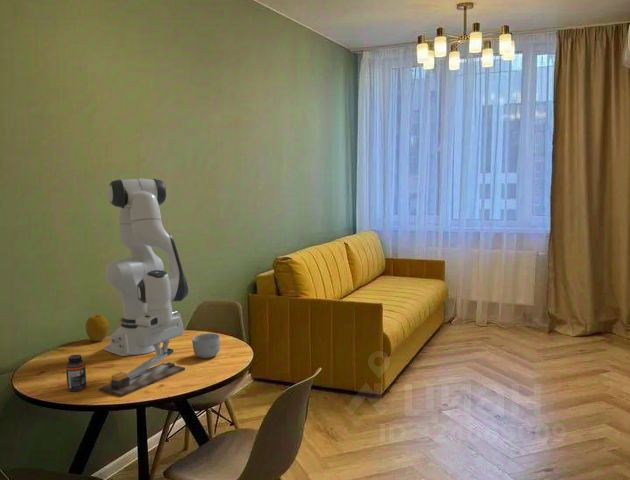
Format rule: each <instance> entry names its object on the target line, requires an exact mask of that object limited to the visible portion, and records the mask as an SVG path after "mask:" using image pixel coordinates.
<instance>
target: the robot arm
mask: <svg viewBox="0 0 630 480" xmlns="http://www.w3.org/2000/svg"><path fill="white" fill-rule="evenodd" d="M107 197H108V200H109V203H110V204H111V205H112V206H114V207H117V208H119V215H118V223H119V224H118V226H119V229H118V230H119V241H120V244H121V245H122V246H123V247H125V248H127V249H128V251H130V252H129V253H130V257H125V258H119V259H116V260H114V261H111V262H109V263H108V264H107V266H106V268H105V272H104V273H105V275H104V276H105V279H106V281H107V283H109V284H110V286H113V287H114V288H115V290H117V291H118V293H119V295H120V299H121V302H122V310H123V313H122V315H123V317H121V318H118V320H119V323H120V327H118V328H117V329H116V330H115V331H114V332H112V333H111V335H110V337H109V338H110V339H109V344H108V345H107V344H106V345H105V346H104V347H103V350H104V351H106V352H108V353H112V354H115V355H118V356H120V357H125V356H137V355H145V354H150V353H152V352H155V355H161V354H163V353H166V352H167V348H168V346H169V344H170V340H172V339H175V338H178V337H181V336H183V334H184V324H183V319H182V315H181V313H180V312H179V311H178V310H177V311H173V306H172V302H182V301H183V300H184V299H186V297H188V294H189V284H188V281H187V278H186V276H185V273H184V270H183V266H182V264H181V260H180V256H179V253H178V249H177V247H176V242H175V239H174V238H173V236H172V234H171V233H169V232H167V231H166V229H165V227H164V225H163V222H162V221H163V220H162V213H161V210H160V206H161V205H162V204H163V203H164V202H166V198H167V187H166V184H165V183H164V182H163V180H161V179H157V178H153V179H152V178H151V179H150V178H140V177H139V178H130V179H127V178H126V179H115V180H112V181H111V182H110V183H109V185H108V188H107ZM153 248H154V249H157V250H160V251H161V252H163V253H164V255H165V256H166V260H167V264H168V267H169V270H170V275H169V273H168V272H167V271H165V270H164V269H165V267H164V262H163V260H162V259H161V258H160V257H159V256H158V255H157V254H155V252H154V250H153ZM161 343H163V344H162V347H160V346H161Z"/></svg>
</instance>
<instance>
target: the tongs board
mask: <svg viewBox="0 0 630 480" xmlns="http://www.w3.org/2000/svg"><path fill="white" fill-rule="evenodd" d="M183 371H186V367H184V366H180V365H175V363H174V362H170V361H169V362H166V363H165V362H163V363H159V364H157V365H155V366H154V365H153V366H151V367H150V368H148V369H147V370H145V371H144V372H142V373H141V374H139V375H137V376H136V377H134V378H133V379H131V380H129V377H127V378H124V379H122V380H119V381H115V380H112V379H110V383H108V384H105V385H103V386H101V387H98V392H102V393H105V394H110V395H114V396H117V397H121V398H123V397H125V396H127V395H130V394H132V393H134V392H136V391H140V390H141V389H143V388H146V387H149V386H150V385H153V384H154V383H157V382H160V381H163V380H165V379H167V378H169V377H172V376H175V375H177V374H179V373H180V372H183Z"/></svg>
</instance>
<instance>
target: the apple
mask: <svg viewBox="0 0 630 480" xmlns="http://www.w3.org/2000/svg"><path fill="white" fill-rule="evenodd" d="M109 331H110V322H109V321H108V319H107V317H105V316H104V315H101V314H93V315H91V316H89V318H88V319H87V320H86V322H85V333H86V335H87V337H88V338H89V339H90V341H92V342H94V343H95V342H101V341H103V340H104V339H105V338H106V336H107V334H108V333H109Z"/></svg>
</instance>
